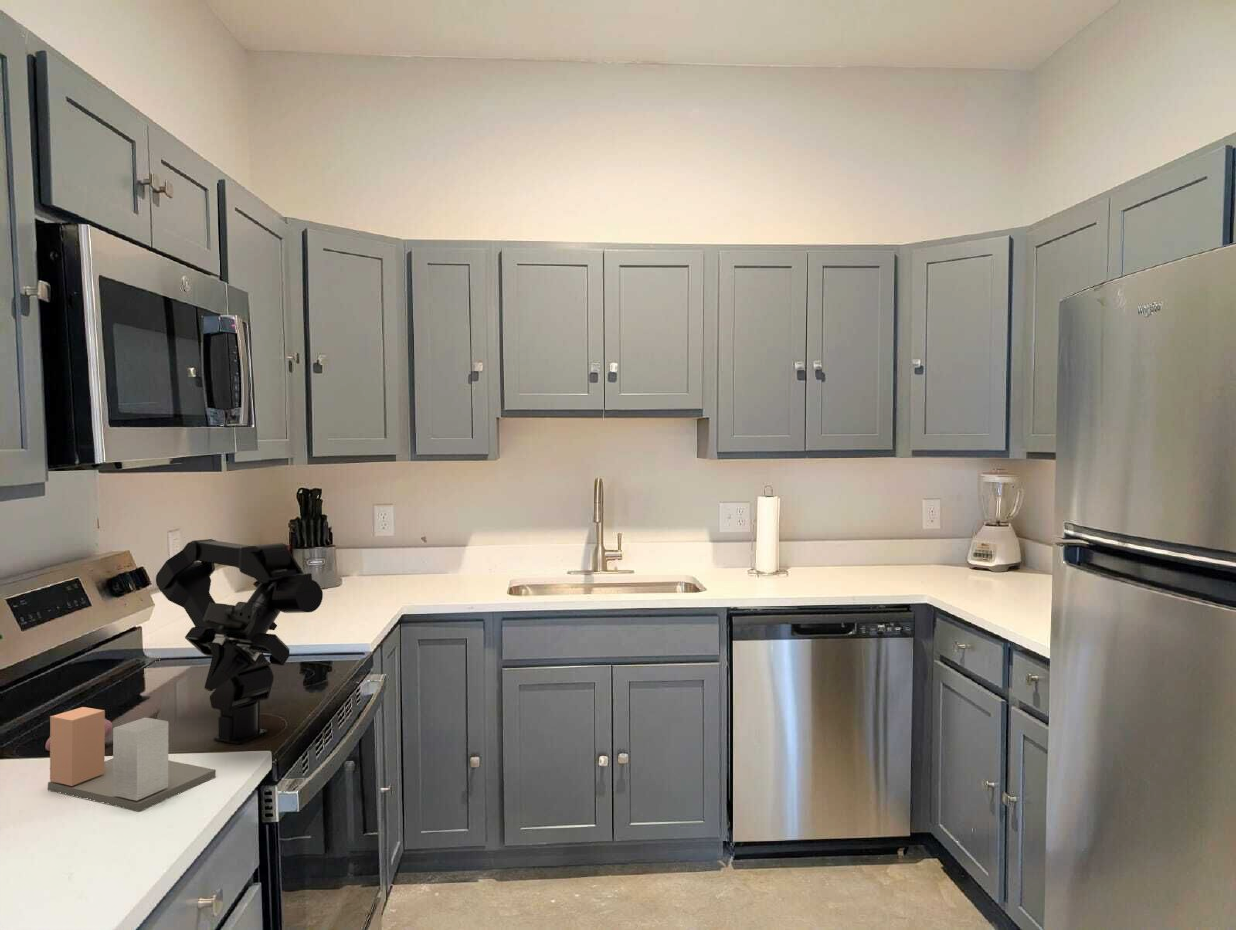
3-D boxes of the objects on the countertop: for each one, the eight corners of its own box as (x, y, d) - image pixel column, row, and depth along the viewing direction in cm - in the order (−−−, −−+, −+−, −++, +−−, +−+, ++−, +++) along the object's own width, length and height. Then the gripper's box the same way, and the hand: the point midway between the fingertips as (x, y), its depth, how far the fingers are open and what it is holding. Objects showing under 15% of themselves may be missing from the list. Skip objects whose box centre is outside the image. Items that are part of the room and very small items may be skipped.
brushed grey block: (144, 782, 116) (145, 717, 116) (168, 786, 114) (168, 721, 114) (113, 795, 111) (113, 727, 111) (136, 800, 109) (137, 732, 109)
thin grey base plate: (128, 759, 128) (128, 752, 128) (215, 776, 121) (215, 769, 121) (47, 790, 116) (47, 782, 116) (139, 811, 109) (139, 803, 109)
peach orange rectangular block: (82, 768, 121) (83, 706, 121) (104, 773, 119) (104, 710, 119) (50, 780, 116) (50, 716, 116) (71, 785, 114) (72, 720, 114)
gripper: (194, 580, 132) (134, 658, 121) (277, 586, 125) (220, 669, 115) (232, 616, 139) (178, 692, 129) (311, 624, 133) (261, 705, 122)
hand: (207, 689), depth 123 cm, fingers closed
